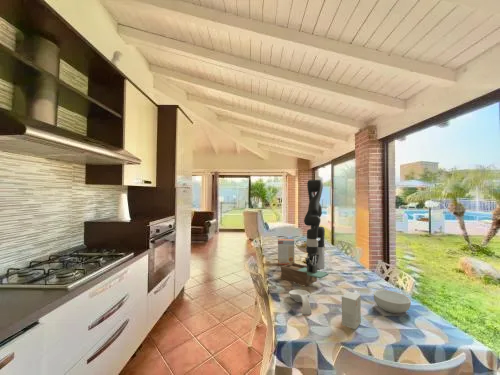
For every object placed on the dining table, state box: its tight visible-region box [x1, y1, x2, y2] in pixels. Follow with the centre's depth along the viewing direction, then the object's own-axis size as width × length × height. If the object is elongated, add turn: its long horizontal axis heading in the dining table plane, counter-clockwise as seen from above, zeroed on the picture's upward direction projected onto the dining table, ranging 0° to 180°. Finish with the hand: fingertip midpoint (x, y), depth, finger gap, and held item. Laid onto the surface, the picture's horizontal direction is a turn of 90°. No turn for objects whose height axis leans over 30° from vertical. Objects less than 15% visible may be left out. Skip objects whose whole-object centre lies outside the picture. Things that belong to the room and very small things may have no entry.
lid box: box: [280, 262, 318, 287], centre depth 166 cm, size 14×20×8 cm
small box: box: [341, 290, 362, 330], centre depth 110 cm, size 8×6×13 cm
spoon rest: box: [288, 289, 313, 316], centre depth 130 cm, size 24×12×7 cm, turn 2°
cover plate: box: [299, 264, 329, 280], centre depth 159 cm, size 10×18×6 cm, turn 44°
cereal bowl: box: [373, 289, 412, 314], centre depth 124 cm, size 17×17×7 cm
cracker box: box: [277, 238, 295, 266], centre depth 204 cm, size 14×6×21 cm, turn 84°
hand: (312, 271), depth 159 cm, fingers closed on cover plate, 3 cm apart
